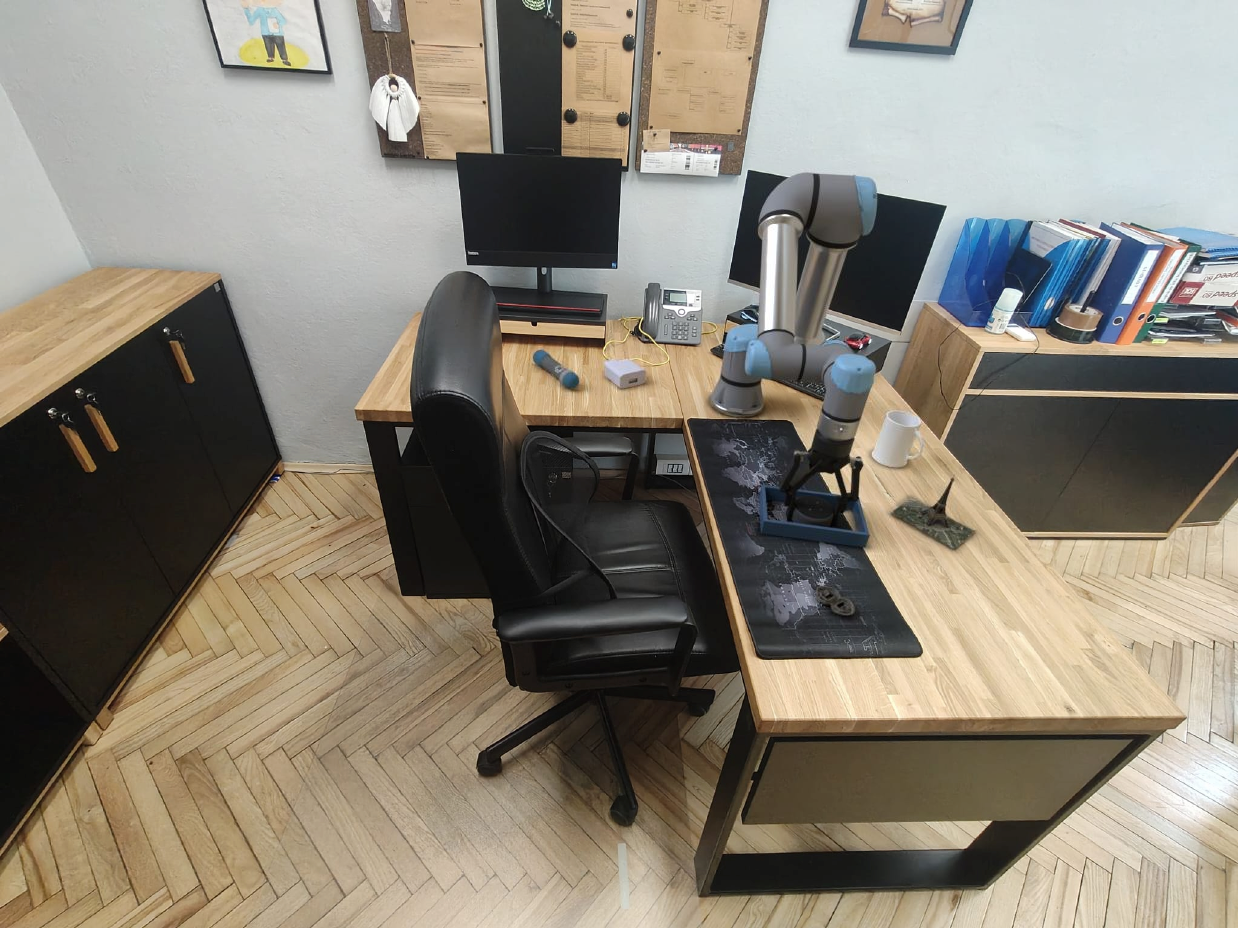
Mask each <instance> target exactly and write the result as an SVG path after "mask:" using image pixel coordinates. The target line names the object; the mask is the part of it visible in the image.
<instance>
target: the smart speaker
mask: <svg viewBox="0 0 1238 928" xmlns="http://www.w3.org/2000/svg"><path fill="white" fill-rule="evenodd" d="M833 516H834V510H833V508H832V506H831V505H830V504H829V503H828V502H827V501H826V500H824V499H822V498H820V497H817V496H812V495H804V496H800V497H798V498H796V500H795V504H794V508H793V512H792V515H791V519H790V520H791V521H792V523H799V524H807V525H814V526H822V527H829V528H830V527H831V522H832V519H833Z"/></svg>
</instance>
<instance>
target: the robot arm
mask: <svg viewBox="0 0 1238 928" xmlns="http://www.w3.org/2000/svg"><path fill="white" fill-rule="evenodd" d="M877 207H878V189H877V184H876V182H875V181H874V179H873V178H871V177H868V176H861V175H860V176H859V175H856V174H853V175H851V174H831V173H815V172H809V171H807V172H799V173H795V174H793V175H791V176H789V177H786V178H785V179H784V180H783V181H781V182H780V183H779V184H778V185H776V187H775V188H773V190H772V191H771V192H770V194H769V195H768V197H767V198H766V200H765V202H764V204H763V205H762V208H761V210H760V213H759V218H758V226H757V234H758V237H759V238H760V239H761V240H762V241H761V256H760V257H761V259H760V275H759V276H760V277H759V278H760V279H759V298H758V316H757V323H747V324H746V323H745V324H740V325H737V326H735V327H732V328H731V329H730V330H729V331H728V333H727V334H726V338H725V342H724V345H723V349H724V350H723V356H722V363H721V369H720V375H719V379H718V381H717V382H716V384H715V386H714V388H713V390H712V392H711V394H710V398H709V404H710V407H712V408H713V409H714V410H715V411H716V412H718V413H720V414H722V415H725V416H729V417H733V418H751V417H755V416H757V415H759V414H760V413H762V411H763V408H764V395H763V389H762V381H763V380H767V381H768V380H776V381H777V380H778V381H790V382H791V381H793V382H798V383H799V382H800V383H811V384H820V385H821V384H822V385H823V386H824V388H825V394H824V398H823V401H822V402H823V403H822V405H821V410H820V414H819V417H818V420H817V423H816V428H815V430H814V435H813V439H812V443H811V446H810V447H809V449H808V450H807V451H800V449H798V448H795V449H793V453H792V459H791V460H790V462H789V464H788V466H787V468H786V470H785V471H784V474H783V475H782V477H781V479H780V480H779V482H778V487H779V488H780V492H782V493H783V492H785V493H786V495H785V498H784V502H783V504H784V507H786V510H785V519H786V520H785V522H791V520H792V519H791V515H792V512H793V508H794V504H795V500H796V492H797V491H798V489H799V490H800V489H801V488H802V487H803V486H804V485H805V484H806V483H807V481H809V480H810V479H811V478H812V477H814V476H815V475H816V474H817V473H820V474H824V473H825V474H828V475H833V474H834V476H835V479H836V483H837V487H838V490H839V494H840V495H841V496H838V495H839V494H838V495H837V497H836V501H835V504H834V507H833V510H834V516H833V519H832V522H831V525H830V528H836V525H837V522H838V519H839V516H840V514H844V513H845V512H846V510H845V509H846V506H847V505H849V501H854V502H857V501H858V500H859V499H860V480H861V472H862V469H863V467H864V462H863V461H864V460H863V458H862V456H860V455H857V456H855V457H854V456H851V452H852V449H853V445H854V443H855V437H856V436H857V433H858V430H859V426H860V423H861V419H862V416H863V413H864V410H865V407H866V404H867V401H868V399H869V395H870V392H871V389H872V387H873V385H874V382H875V375H876V370H877V366H876V364H875V362H873V360H871V359H869V358H868V357H866V356H864V355H859V354H856V353H855V352H854V350H853V349H852V348H851V347H850V346H849V345H848V344H847V343H846V342H844V341H842V340H839V339H831V340H827V338H826V336H825V333H824V331H823V330H822V329H823V328H824V327H823V326H824V323H825V321H826V317H827V314H828V312H829V310H830V309H829V308H830V306H831V303H832V299H833V296H834V293H835V291H836V288H837V284H838V281H839V278H840V275H841V272H842V269H843V266H844V263H845V260H846V257H847V253H848V251H849V250H851V249H852V248H853V249H854V248H855V247H856V246H857V245H858V243H859V240H860V236H862V237H863V236H867V235H869V234H870V233H871V231H872V230H873V228H874V225H875V221H876V216H877V209H878V208H877ZM804 231H806V235H805V236H806V239H807V241H809V242H810V244H809V248H808V252H807V255H806V259H805V263H804V266H803V270H802V273H801V276H800V281H799V284H798V258H799V256H798V255H799V238H800V237H801V236H802V234H803V232H804ZM797 284H798V287H797ZM806 459H807V460H808V462H807V463H806V466H805V467H804V468H803V469H802V470H801V471H800V472H799V473H798V474H797V475H796V473H797V471H798V469H799V467H800V465H801V463H803V462H804V461H805V460H806ZM847 465H849V466H850V468H851V474H850V475H851V476H850V478H851V479H850V492H847V488H846V484H845V481H844V478H843V474H842V471H841V470H842V469H843V468H844V467H846V466H847ZM795 475H796V477H795Z"/></svg>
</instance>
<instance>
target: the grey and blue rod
mask: <svg viewBox="0 0 1238 928" xmlns="http://www.w3.org/2000/svg"><path fill="white" fill-rule="evenodd" d="M532 361H533V362H534V364H536V365H537V366H538V367H539V368H541V369H543V370H545V371H546V372H548V374H550V375H551V376H553V377H554V378H556V379H557V380H558V381H559V383H560V385H562V386H563V387H565V388H566V389H568V390H575V389H576V388H578V386H579V385H580V376H579V375H578V374H577V373H575V372H574V371H573V370H571V369H567V368H566V367H565V366H563V365H562V364H561V363H560V362H558V361H557V360H556V359H554V358H553V357H552V355H551V354H549V352H547V351H545V350H544V349H538V350H537V349H536V351H535V352H534V353H533V355H532Z"/></svg>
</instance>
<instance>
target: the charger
mask: <svg viewBox="0 0 1238 928" xmlns="http://www.w3.org/2000/svg"><path fill="white" fill-rule="evenodd" d="M603 366H604V367H605V369H604V371H605V372H604V375H605V377H606V378H607V379H608V380H610V381H611V383H613V384H615V386H617V387H618V388H619V389H628V388H632V387H637V386H640V385H643V384H645V382H646V377H647V370H646V369H644V368H643V367H641V366H640V365H639V364H637V363H636V362H635V361H633V360H632V359H630V358H626V359H620V360H618V359H615V358H613V359H612V358H610V359H609V360H607V359H605V362H603Z"/></svg>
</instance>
